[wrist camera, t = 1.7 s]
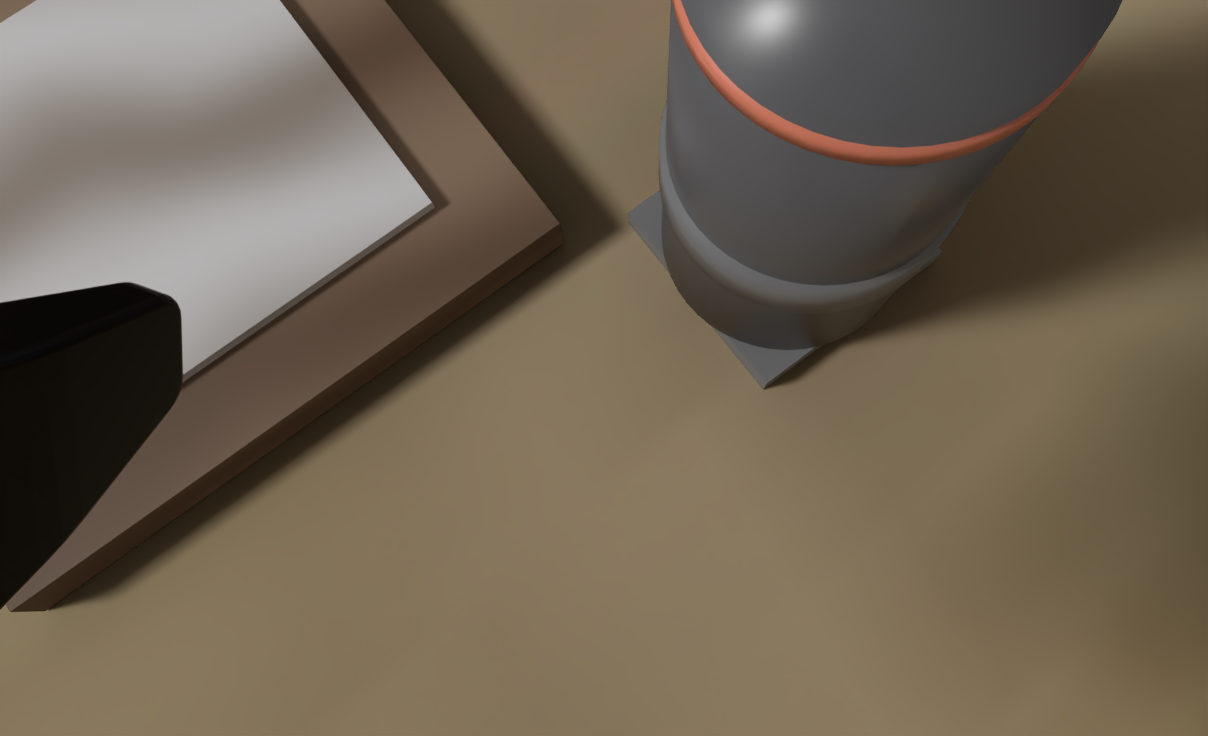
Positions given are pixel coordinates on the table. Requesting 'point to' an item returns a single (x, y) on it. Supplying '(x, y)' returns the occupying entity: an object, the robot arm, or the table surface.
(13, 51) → the mount board
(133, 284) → the robot arm
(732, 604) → the table surface
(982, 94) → the grey tall rounded piece
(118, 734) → the table surface
